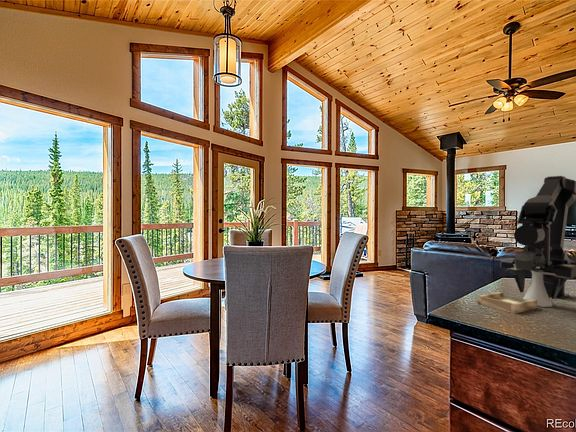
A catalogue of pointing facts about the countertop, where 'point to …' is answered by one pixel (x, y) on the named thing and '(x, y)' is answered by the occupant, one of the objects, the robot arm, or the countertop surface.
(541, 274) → the flask
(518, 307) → the tray
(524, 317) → the countertop surface
